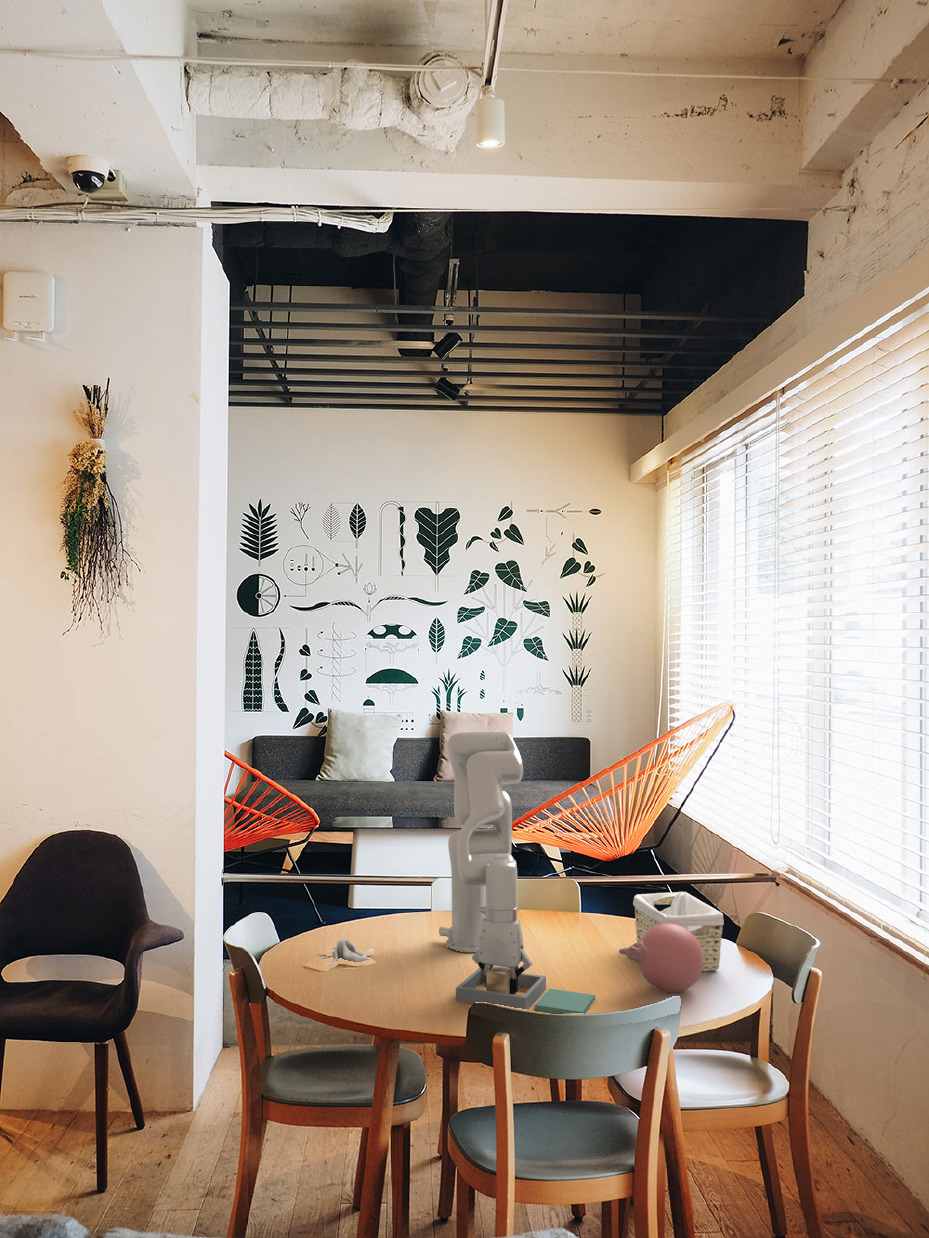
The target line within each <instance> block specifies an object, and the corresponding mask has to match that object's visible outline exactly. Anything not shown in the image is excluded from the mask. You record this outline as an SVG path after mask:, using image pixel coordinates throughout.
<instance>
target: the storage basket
mask: <svg viewBox="0 0 929 1238" xmlns="http://www.w3.org/2000/svg"><path fill="white" fill-rule="evenodd" d="M632 905H633V907H634V917H635V921H634V922H635V928H636V929H635V934H636V943H637V942H638V941H639V940H640V939H641V938H642V937H643V936H644V935H645V933H646V932H647V931H649V930H650V929H651V928H653V927H655V926H657V925H660V924H676V925H679V926H681V927H684V928H685V929H687V930H688V931H690V932H691V933H692V934H693V935H694V936H695V938H696V939H697V940H698V942H699V944H700V946H701V948H702V952H703V958H704V963H703V969H702V972H710V971H717V970H718V969H719V968H720V960H721V946H722V935H723V926H724V925H725V923H724V921H725V920H724V914H723V913H722V912H721V911H719V910H717V909H716V908H714V907H712V906H710V905H709V904H707V903H706V902H703V901H701V900H700V899H698V898H697V897H695V896H693V895H691V894H690V893H688V892H686V891H678V892H677V891H676V892H656V893H645V894H644V893H641V894H635V895H634V897H633V902H632ZM655 905H670V906H668V907H666V908H664V909H662V910H660V911H659V910H657V908H656V907H655Z"/></svg>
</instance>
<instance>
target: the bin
mask: <svg viewBox="0 0 929 1238" xmlns="http://www.w3.org/2000/svg"><path fill="white" fill-rule="evenodd" d="M481 983H485V975H484V974H483V971H482V970H481V968H480V967H478V968H477V969H476V970H475V971H474V972H473V973H471V974H470V975H469V976H468V977H467V978H466V979H464V980H463V981H462V982H461V983H459V985H457V986H456V987H455V1001H456V1002H462V1003H466V1004H467V1003H468V1004H469V1003H470V1004H473V1003H475V1002H487V1003H491V1004H499V1005H504V1006H509V1007H514V1008H522V1009H528V1010H529V1009H530V1007H532V1006H533V1005H534V1003H535V1002H536V1001H537V1000H538V999H539V998H540V996H541V995H542V994H543V993H545V991H546V990H547V976H546V975H538V974H532V973H524V972H522V973H521V974H520V975H519V976H518V988H525V989H528V990H526V992H525V993H524V994H523V995H521V994H515V995H514V994H507V993H500V992H494V991H487V990H486V989H480V988H479V989H477V987H478V986H479V985H480V984H481Z"/></svg>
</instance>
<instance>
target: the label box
mask: <svg viewBox="0 0 929 1238" xmlns="http://www.w3.org/2000/svg"><path fill="white" fill-rule="evenodd" d="M510 979H511V973H510V969H509V967H503V966H496V965H493V967H492V968H491V969H490V970H489V971H488V972H486V987H485V988H486V989H485V990H487V991H494V992H500V993H507V994H510Z"/></svg>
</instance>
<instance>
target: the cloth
mask: <svg viewBox="0 0 929 1238" xmlns="http://www.w3.org/2000/svg"><path fill="white" fill-rule="evenodd" d="M336 943H337V944H336V945H334V946H328V947H329V948H333V949H335V950H334V952H332V954H333V955H332V956H323V955H322V956H317V957H314V958H315V959H327V958H330V957H333V958H334V960H333V961H331V962H328V963H326V964H324V965H328V964H332V963H334V962H336V961H338V959H339V958H342V959H344V960H348V961H353V962H362V961H365V960H369V959H371V957H370V956H368V957H367V956H362V955H364V954H366V953H368V952H373V951H374V950H373V948H369V949H368V950H367V951H365V952H358V951H357V950H356V949H357V947H356V946H355V945H354V943H353V942H352V941H350V940H349V938H347V937H344V938H343V937H341V938H339V939H338V941H337V942H336ZM327 951H328V952H331V951H330V950H327Z"/></svg>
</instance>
